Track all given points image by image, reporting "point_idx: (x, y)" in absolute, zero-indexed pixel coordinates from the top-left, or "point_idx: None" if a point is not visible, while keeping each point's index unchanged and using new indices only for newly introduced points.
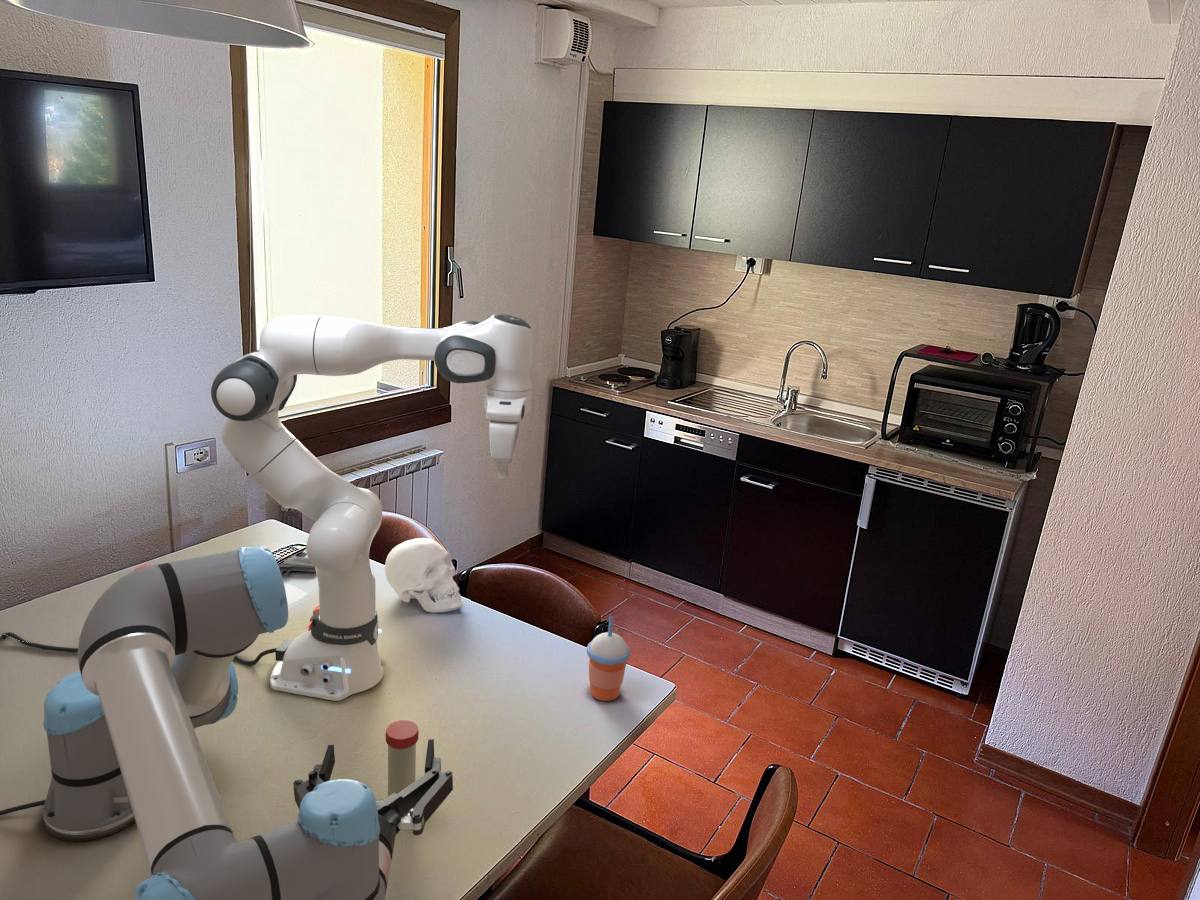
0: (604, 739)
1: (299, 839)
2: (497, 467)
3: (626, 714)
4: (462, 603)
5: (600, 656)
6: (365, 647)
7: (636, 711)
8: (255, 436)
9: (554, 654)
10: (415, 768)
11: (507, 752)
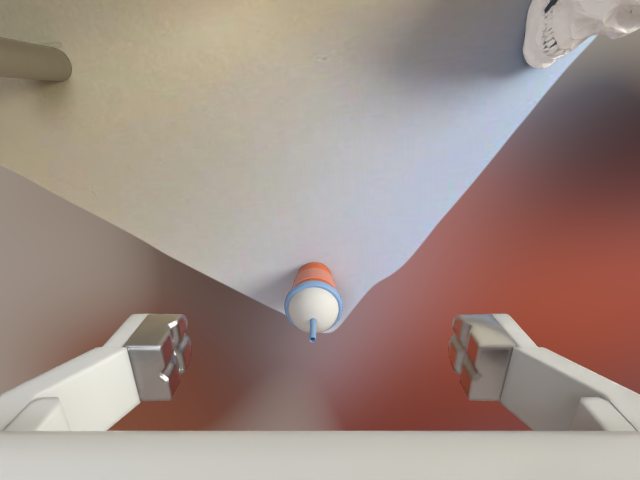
0: (230, 275)
1: None
2: (64, 365)
3: (278, 297)
4: (536, 66)
5: (290, 299)
6: None
7: None
8: None
9: (398, 218)
10: (20, 77)
11: (185, 175)
